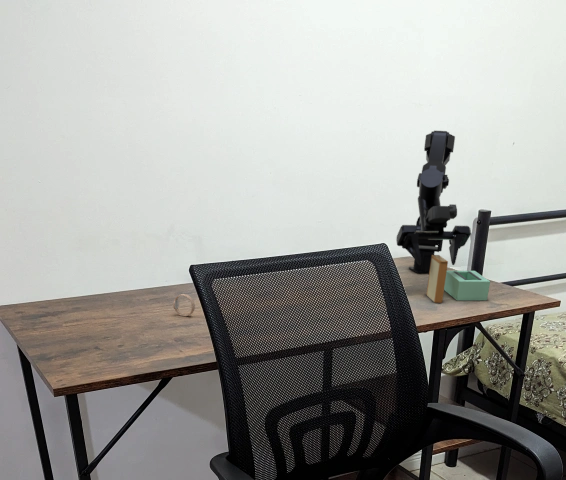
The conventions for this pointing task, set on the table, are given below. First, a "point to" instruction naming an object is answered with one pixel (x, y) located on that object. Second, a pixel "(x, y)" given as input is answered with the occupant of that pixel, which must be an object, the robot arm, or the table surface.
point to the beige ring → (176, 305)
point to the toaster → (466, 285)
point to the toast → (437, 278)
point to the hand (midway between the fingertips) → (436, 264)
